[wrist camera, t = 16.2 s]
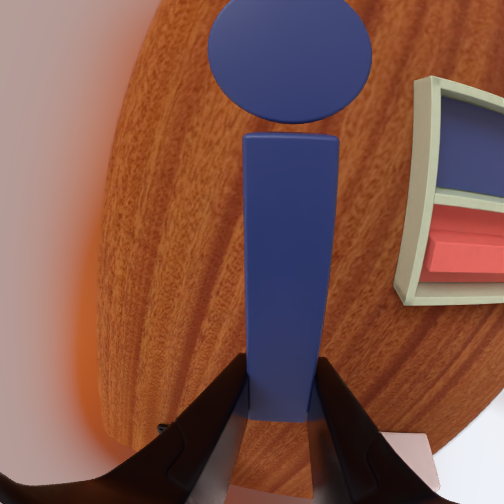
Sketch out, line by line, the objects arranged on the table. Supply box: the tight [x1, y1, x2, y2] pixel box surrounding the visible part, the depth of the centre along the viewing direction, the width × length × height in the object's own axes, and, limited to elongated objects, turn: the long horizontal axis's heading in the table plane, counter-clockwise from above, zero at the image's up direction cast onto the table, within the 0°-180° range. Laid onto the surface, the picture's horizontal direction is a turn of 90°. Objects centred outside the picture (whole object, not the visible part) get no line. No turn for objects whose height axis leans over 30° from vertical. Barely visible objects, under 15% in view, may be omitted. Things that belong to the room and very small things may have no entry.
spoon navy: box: [208, 0, 372, 423], centre depth 7 cm, size 12×4×2 cm, turn 0°
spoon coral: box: [423, 230, 504, 273], centre depth 15 cm, size 12×4×2 cm, turn 90°
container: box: [381, 432, 440, 492], centre depth 20 cm, size 8×8×13 cm
